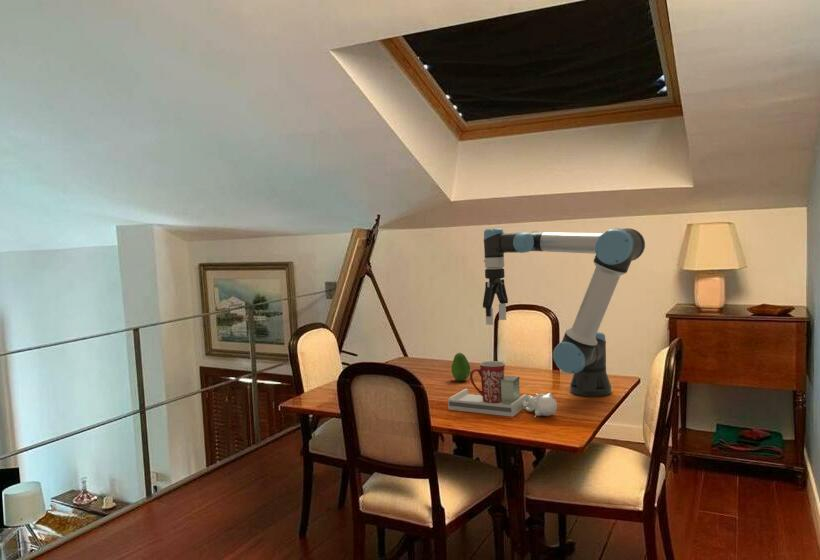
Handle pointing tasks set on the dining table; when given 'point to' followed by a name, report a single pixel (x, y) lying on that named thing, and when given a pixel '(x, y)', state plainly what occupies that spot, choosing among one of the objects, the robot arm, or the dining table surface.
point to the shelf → (483, 404)
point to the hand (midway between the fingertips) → (496, 322)
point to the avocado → (460, 367)
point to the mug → (490, 380)
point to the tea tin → (510, 389)
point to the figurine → (541, 404)
